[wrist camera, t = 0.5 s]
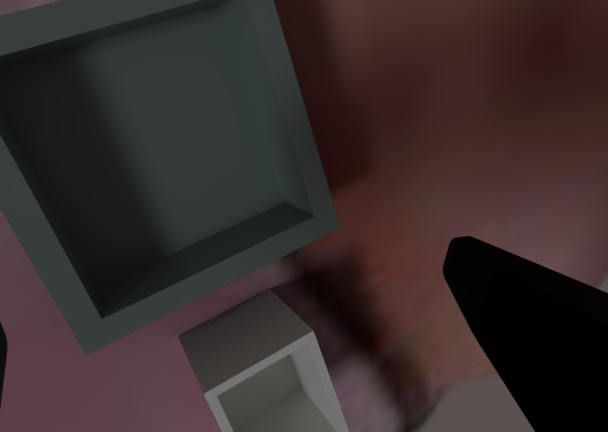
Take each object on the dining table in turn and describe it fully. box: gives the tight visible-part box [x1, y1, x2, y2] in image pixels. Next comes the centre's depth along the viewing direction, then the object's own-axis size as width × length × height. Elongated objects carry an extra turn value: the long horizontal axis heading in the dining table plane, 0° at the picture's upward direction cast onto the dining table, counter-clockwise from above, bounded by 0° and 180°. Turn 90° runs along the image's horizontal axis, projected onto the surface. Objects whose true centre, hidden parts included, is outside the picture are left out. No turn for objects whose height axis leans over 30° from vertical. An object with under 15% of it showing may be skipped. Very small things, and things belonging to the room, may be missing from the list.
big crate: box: [0, 0, 341, 355], centre depth 18 cm, size 11×11×4 cm
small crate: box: [179, 289, 349, 432], centre depth 22 cm, size 6×5×5 cm
